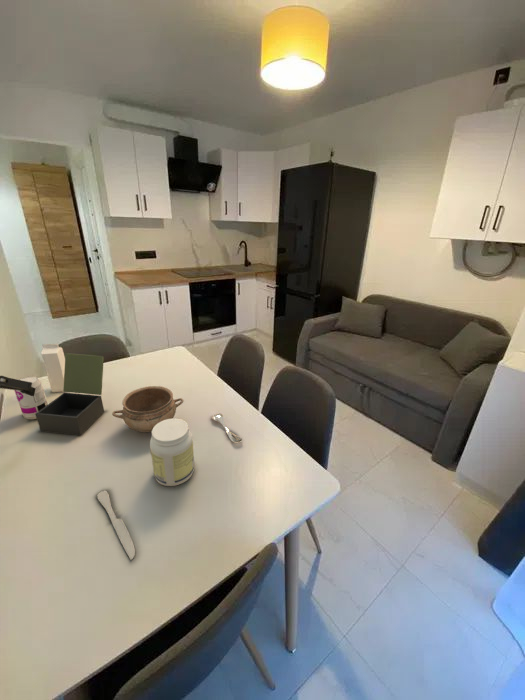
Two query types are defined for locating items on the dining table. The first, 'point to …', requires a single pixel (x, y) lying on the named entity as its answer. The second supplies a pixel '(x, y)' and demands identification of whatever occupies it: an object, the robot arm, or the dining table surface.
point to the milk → (54, 365)
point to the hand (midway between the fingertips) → (11, 393)
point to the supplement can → (32, 399)
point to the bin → (70, 413)
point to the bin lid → (83, 374)
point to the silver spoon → (220, 419)
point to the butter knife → (117, 524)
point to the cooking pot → (148, 407)
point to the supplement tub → (172, 452)
